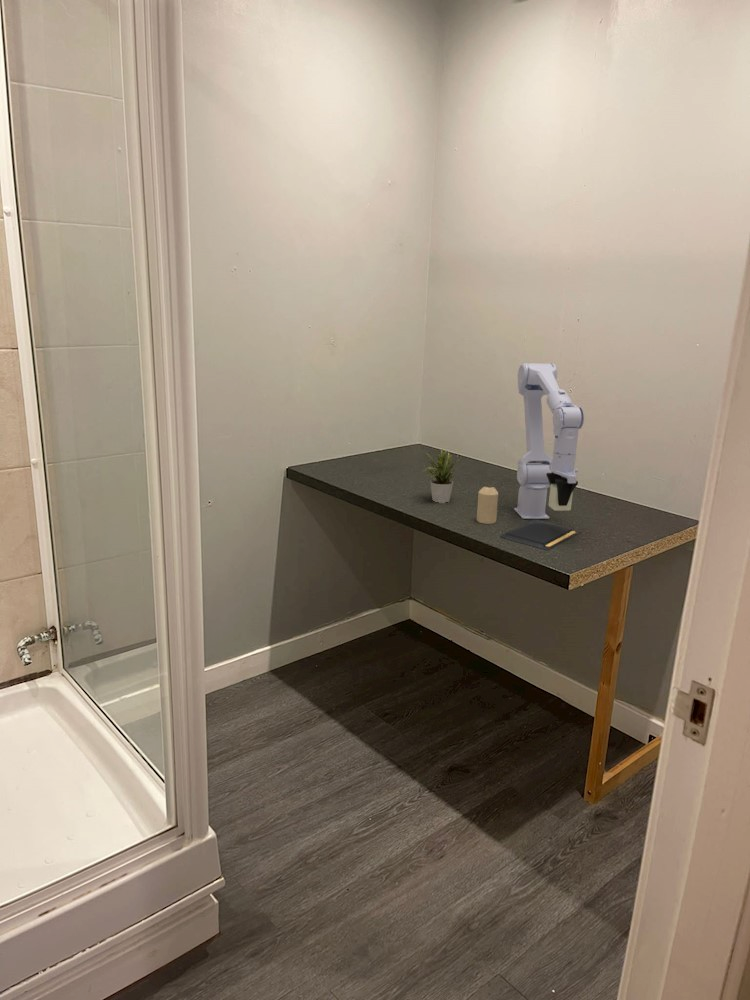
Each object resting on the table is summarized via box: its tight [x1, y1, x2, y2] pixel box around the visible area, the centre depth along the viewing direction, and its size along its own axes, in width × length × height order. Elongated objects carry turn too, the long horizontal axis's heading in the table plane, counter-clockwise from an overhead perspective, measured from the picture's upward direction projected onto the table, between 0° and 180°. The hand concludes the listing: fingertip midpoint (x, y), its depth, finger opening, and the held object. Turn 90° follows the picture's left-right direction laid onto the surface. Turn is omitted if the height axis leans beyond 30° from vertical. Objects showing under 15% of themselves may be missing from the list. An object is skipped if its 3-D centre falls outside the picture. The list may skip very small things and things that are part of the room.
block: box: [548, 484, 574, 511], centre depth 190 cm, size 4×4×6 cm
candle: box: [476, 486, 499, 525], centre depth 202 cm, size 6×6×10 cm
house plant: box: [422, 449, 459, 504], centre depth 220 cm, size 14×14×16 cm
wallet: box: [499, 519, 582, 552], centre depth 193 cm, size 20×2×15 cm
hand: (559, 502), depth 190 cm, fingers closed on block, 4 cm apart
